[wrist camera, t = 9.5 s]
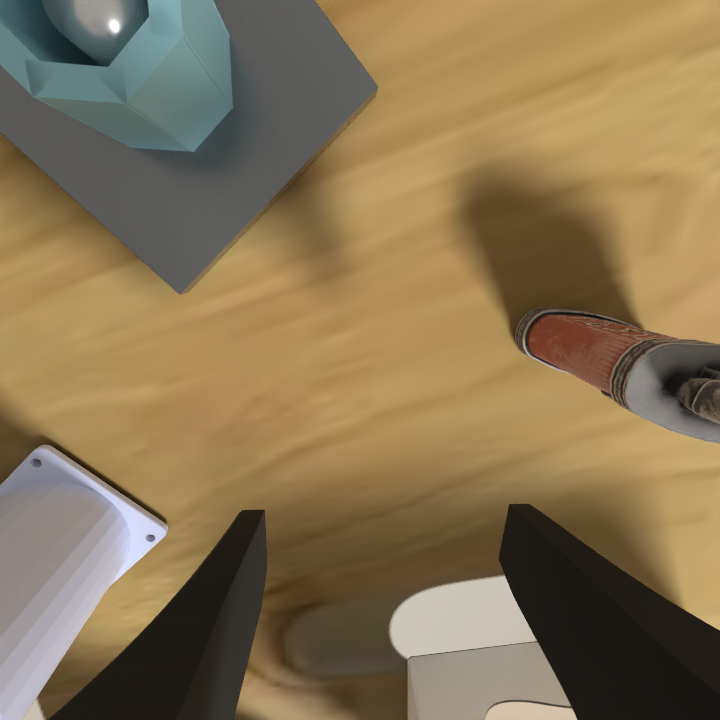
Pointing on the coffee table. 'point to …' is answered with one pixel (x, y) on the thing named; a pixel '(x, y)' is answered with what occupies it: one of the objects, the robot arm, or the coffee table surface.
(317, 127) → the base
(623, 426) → the coffee table surface
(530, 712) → the gable box
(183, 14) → the elbow collar
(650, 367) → the lighter
